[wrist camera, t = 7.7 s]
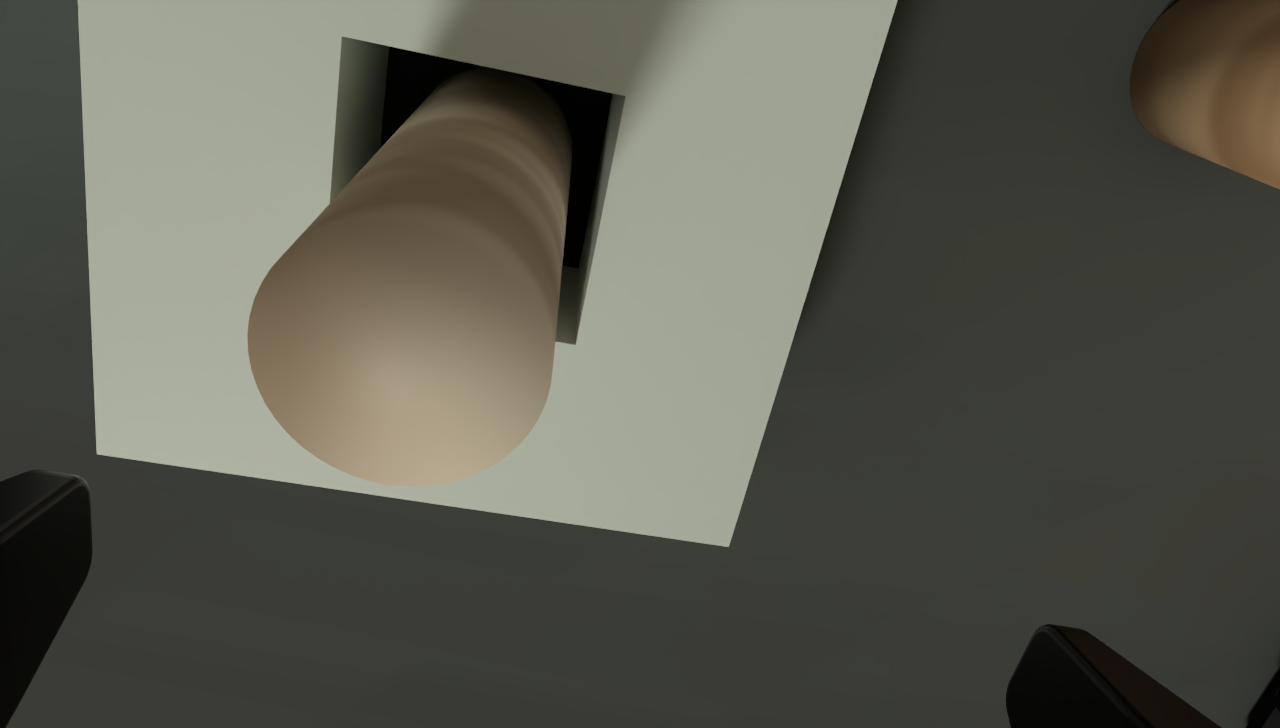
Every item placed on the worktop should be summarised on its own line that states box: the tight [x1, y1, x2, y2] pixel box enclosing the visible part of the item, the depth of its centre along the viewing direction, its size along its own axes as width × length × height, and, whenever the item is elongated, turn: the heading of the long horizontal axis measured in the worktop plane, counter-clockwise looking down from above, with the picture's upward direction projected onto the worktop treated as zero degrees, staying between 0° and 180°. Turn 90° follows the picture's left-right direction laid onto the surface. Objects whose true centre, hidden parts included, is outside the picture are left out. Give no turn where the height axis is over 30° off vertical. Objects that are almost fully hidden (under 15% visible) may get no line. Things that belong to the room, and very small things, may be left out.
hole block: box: [78, 0, 898, 547], centre depth 17 cm, size 12×12×4 cm
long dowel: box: [247, 67, 573, 487], centre depth 14 cm, size 3×3×10 cm
